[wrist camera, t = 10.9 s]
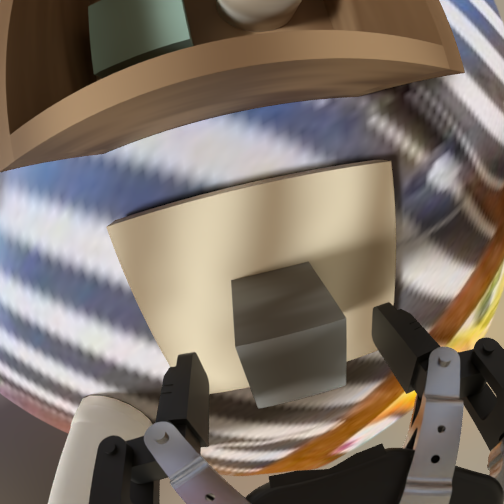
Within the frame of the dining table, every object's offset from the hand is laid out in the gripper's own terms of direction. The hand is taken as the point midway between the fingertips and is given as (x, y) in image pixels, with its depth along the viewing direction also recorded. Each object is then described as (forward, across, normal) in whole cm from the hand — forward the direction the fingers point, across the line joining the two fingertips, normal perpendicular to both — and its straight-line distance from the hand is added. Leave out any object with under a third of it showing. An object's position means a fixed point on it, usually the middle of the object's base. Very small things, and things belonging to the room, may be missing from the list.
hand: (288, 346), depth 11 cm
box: (+5, 0, -16) cm, 17 cm away
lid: (+5, 0, 0) cm, 5 cm away
